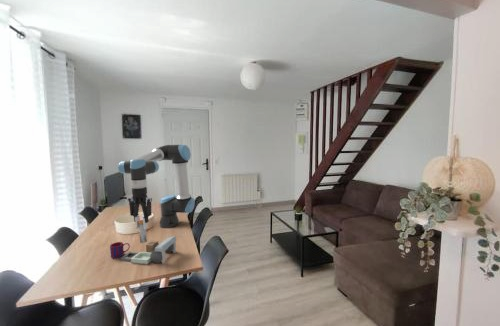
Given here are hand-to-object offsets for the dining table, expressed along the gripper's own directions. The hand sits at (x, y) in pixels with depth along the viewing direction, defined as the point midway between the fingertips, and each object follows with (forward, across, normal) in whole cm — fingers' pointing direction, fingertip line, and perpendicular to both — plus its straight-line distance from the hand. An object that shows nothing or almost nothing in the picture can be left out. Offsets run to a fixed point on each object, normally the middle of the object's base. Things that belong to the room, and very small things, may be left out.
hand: (141, 227), depth 129 cm
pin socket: (+19, -9, +1) cm, 21 cm away
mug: (+19, -18, +3) cm, 26 cm away
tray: (+19, 0, 0) cm, 19 cm away
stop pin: (+8, +1, 0) cm, 8 cm away
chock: (+19, -2, +11) cm, 22 cm away
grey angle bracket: (+19, +10, +5) cm, 22 cm away
